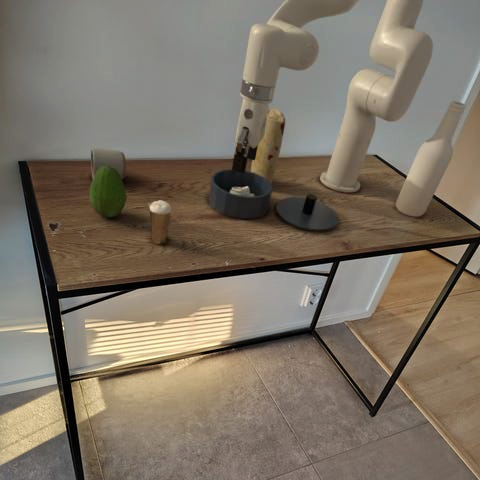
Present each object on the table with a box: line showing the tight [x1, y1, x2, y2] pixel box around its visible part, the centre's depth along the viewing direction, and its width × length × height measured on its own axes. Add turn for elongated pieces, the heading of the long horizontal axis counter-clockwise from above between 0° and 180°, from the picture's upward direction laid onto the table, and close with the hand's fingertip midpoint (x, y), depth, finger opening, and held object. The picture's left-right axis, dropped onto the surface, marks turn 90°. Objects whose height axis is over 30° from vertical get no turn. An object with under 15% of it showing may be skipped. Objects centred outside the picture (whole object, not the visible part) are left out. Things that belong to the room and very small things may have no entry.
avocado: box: [89, 165, 128, 218], centre depth 98 cm, size 8×8×12 cm
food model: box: [250, 107, 286, 184], centre depth 121 cm, size 10×7×20 cm
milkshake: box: [145, 196, 172, 245], centre depth 94 cm, size 5×5×10 cm
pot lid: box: [275, 193, 339, 232], centre depth 115 cm, size 17×17×6 cm
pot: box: [208, 168, 273, 220], centre depth 114 cm, size 16×16×6 cm
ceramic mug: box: [90, 147, 127, 181], centre depth 113 cm, size 11×8×8 cm
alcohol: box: [395, 100, 467, 218], centre depth 120 cm, size 9×9×30 cm
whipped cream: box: [230, 186, 254, 197], centre depth 114 cm, size 8×7×5 cm
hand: (243, 164), depth 109 cm, fingers open, 9 cm apart
